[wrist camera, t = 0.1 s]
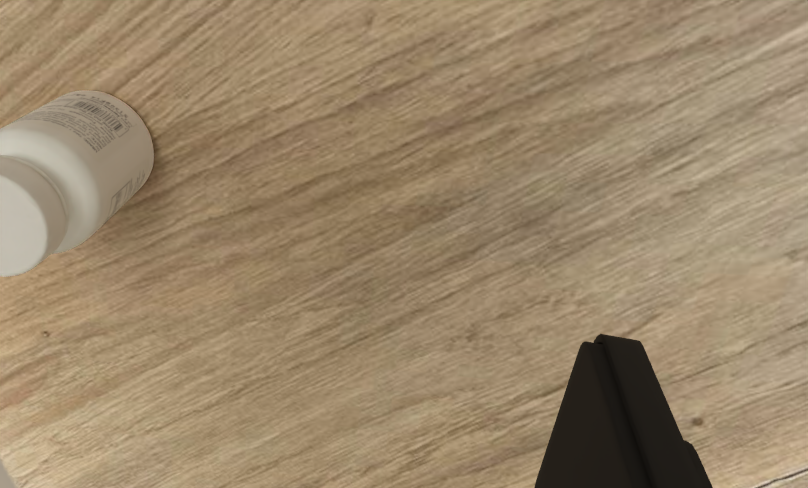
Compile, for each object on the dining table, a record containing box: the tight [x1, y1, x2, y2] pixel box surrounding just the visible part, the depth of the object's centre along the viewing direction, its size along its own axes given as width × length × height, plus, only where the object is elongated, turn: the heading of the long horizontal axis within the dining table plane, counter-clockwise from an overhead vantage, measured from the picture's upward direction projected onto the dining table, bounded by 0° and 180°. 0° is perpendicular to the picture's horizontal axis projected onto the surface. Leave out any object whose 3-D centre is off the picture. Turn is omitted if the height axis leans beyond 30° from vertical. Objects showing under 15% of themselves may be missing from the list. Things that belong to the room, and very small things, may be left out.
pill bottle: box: [0, 90, 154, 277], centre depth 25 cm, size 4×4×8 cm
